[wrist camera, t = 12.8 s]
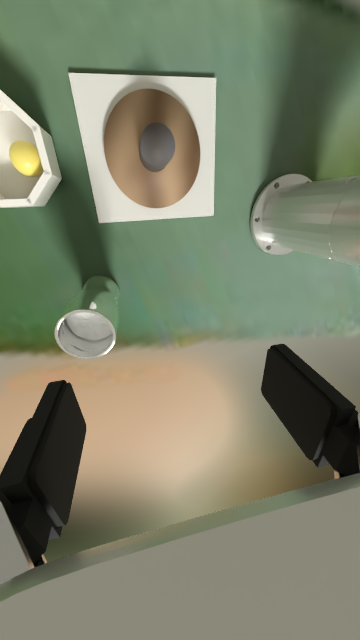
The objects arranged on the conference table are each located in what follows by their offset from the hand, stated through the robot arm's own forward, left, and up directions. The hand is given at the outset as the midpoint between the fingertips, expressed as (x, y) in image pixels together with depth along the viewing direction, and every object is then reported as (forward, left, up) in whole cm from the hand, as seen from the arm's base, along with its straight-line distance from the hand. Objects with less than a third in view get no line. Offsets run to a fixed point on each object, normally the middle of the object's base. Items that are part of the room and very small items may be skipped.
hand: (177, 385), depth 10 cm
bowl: (+15, -14, -31) cm, 37 cm away
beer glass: (+8, +5, -31) cm, 32 cm away
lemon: (+14, -14, -29) cm, 35 cm away
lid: (-3, -14, -30) cm, 33 cm away
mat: (-3, -14, -30) cm, 34 cm away
